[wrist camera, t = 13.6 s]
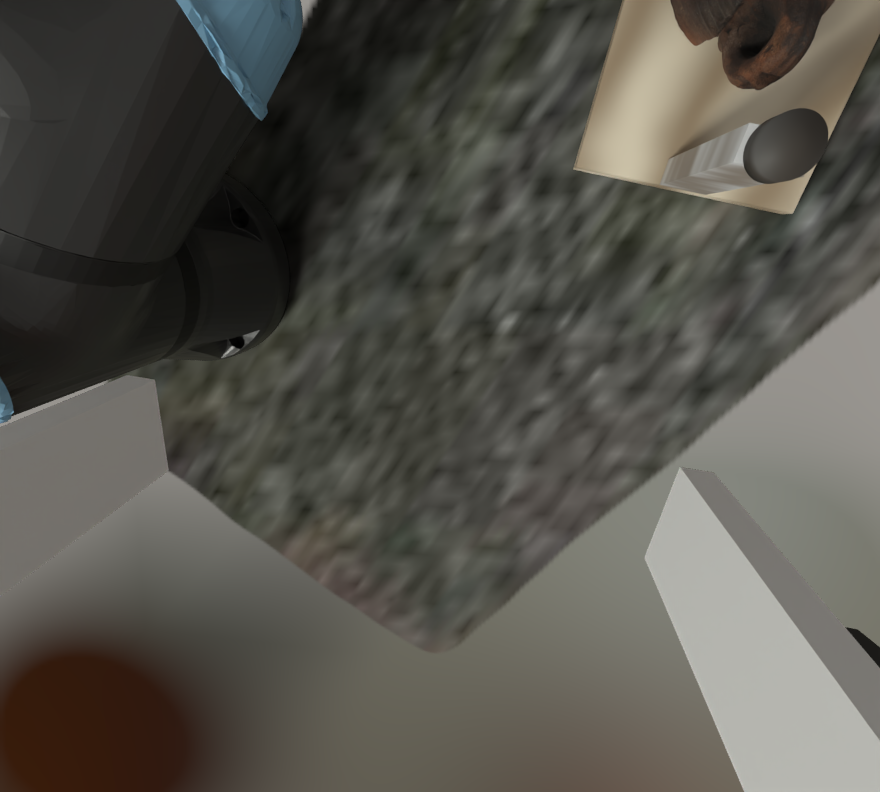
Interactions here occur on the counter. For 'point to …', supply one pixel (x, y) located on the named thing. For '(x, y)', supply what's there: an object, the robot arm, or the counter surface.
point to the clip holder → (719, 109)
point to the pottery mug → (753, 34)
